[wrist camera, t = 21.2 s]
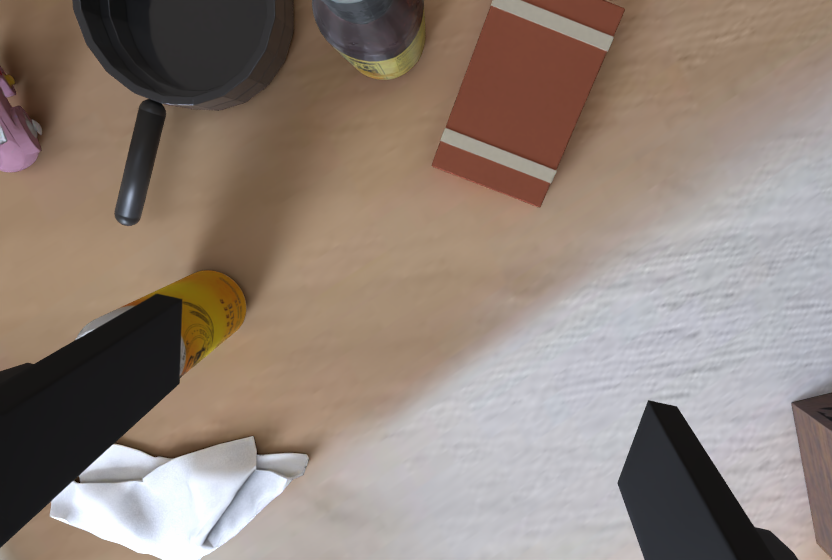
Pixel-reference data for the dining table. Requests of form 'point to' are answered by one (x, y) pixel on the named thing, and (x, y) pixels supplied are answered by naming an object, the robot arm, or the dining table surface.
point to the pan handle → (140, 162)
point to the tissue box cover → (817, 461)
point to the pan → (189, 47)
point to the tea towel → (525, 93)
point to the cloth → (176, 496)
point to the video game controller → (16, 131)
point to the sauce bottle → (374, 33)
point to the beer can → (197, 313)
